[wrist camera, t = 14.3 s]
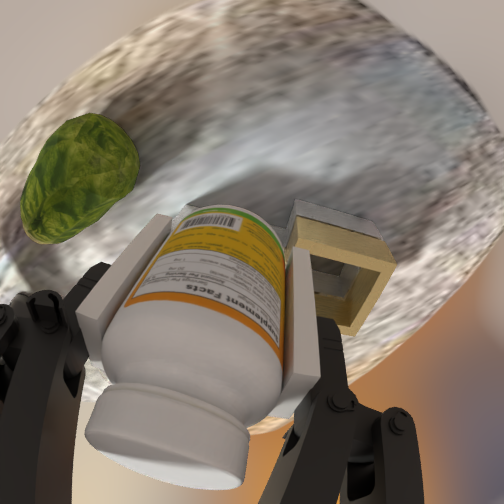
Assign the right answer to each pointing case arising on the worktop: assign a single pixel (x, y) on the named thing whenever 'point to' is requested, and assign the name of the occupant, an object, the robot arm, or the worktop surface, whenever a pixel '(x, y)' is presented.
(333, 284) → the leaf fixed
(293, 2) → the worktop surface
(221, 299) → the supplement bottle
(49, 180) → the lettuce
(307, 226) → the beige square frame
